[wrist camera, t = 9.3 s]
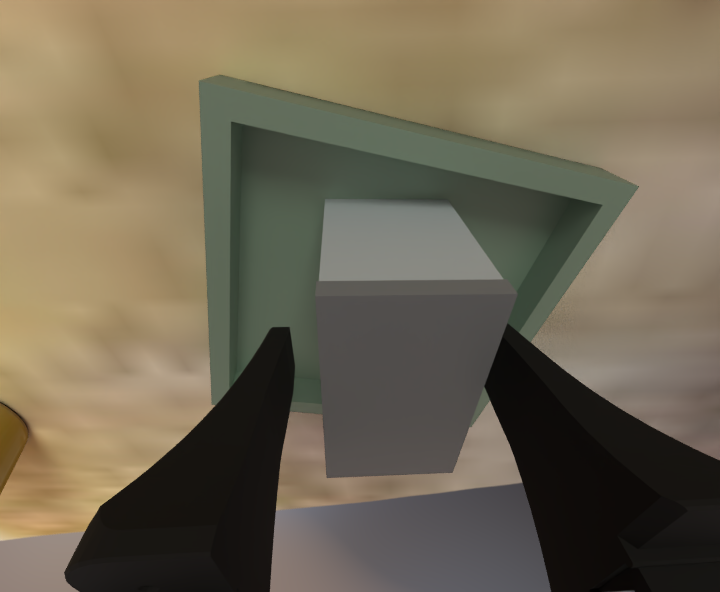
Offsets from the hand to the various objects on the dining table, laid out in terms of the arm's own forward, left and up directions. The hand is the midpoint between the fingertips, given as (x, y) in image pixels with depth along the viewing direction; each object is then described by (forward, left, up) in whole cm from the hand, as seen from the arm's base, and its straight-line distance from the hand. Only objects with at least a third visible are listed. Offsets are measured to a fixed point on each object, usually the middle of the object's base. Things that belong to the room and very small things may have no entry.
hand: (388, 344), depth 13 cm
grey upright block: (0, 0, -3) cm, 3 cm away
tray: (0, 0, -4) cm, 4 cm away
